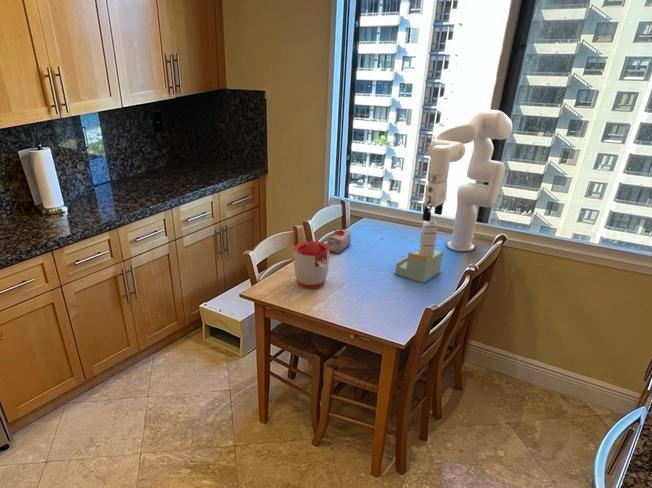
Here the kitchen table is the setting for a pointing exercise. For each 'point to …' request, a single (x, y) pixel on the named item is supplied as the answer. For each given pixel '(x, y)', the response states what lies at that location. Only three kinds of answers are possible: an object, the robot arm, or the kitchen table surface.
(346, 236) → the food item
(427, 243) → the syrup box
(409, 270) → the stepped box
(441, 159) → the robot arm
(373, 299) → the kitchen table surface
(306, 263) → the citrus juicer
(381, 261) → the kitchen table surface
